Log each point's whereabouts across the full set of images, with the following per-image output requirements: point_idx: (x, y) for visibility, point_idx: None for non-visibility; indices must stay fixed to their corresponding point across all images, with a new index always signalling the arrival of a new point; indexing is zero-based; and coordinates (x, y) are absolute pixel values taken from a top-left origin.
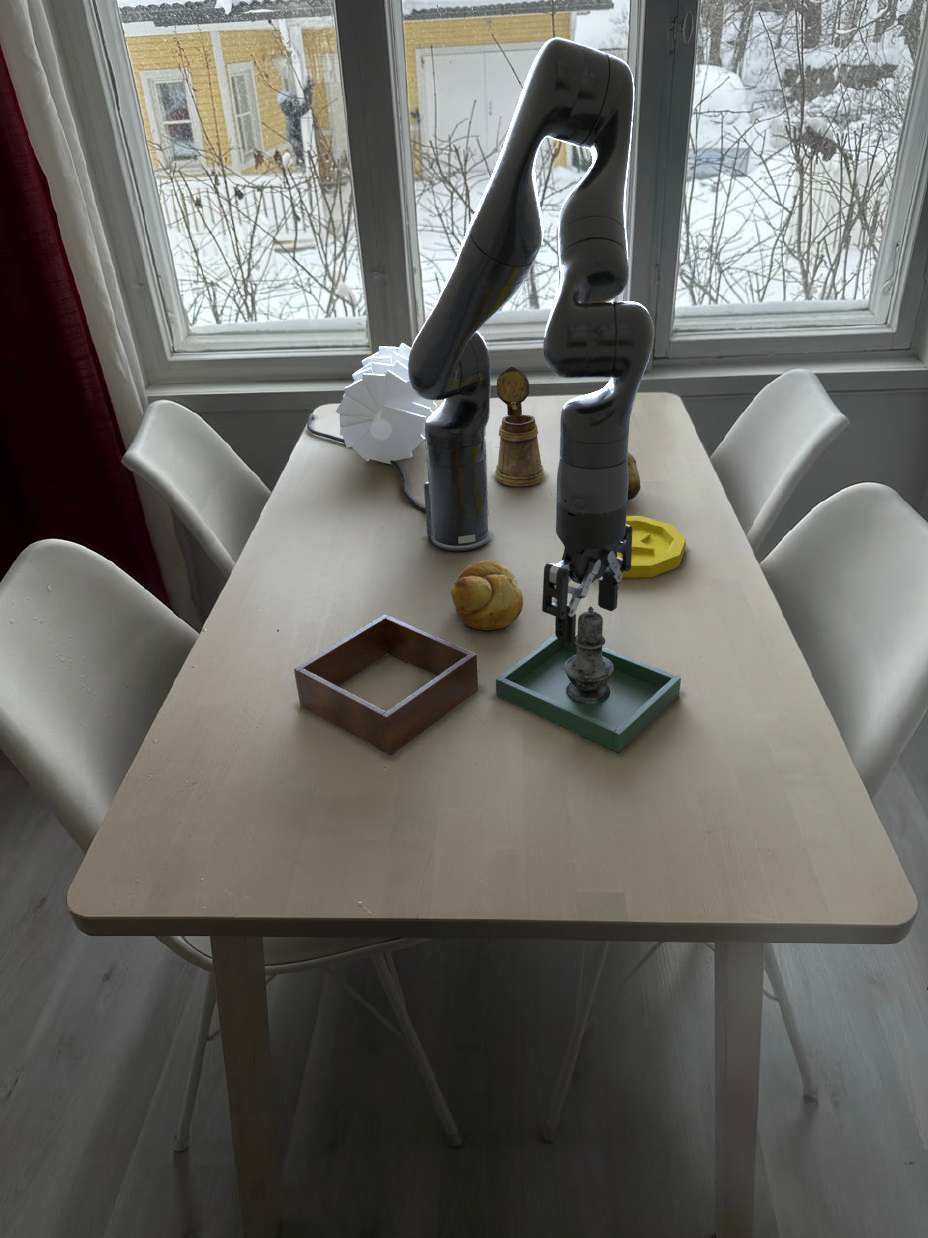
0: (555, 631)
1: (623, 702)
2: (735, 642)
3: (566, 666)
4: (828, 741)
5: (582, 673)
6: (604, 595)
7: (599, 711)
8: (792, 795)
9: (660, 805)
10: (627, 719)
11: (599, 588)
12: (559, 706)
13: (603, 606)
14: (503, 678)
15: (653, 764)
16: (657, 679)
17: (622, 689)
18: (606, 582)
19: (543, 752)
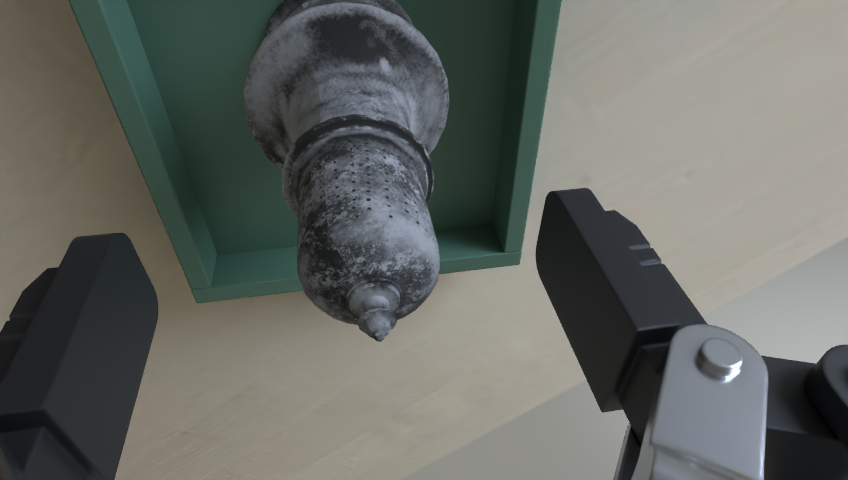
0: (15, 308)
1: None
2: (780, 197)
3: (280, 40)
4: (511, 415)
5: (281, 136)
6: (577, 276)
7: None
8: (358, 443)
9: (160, 377)
10: None
11: (601, 277)
12: (124, 119)
13: (547, 222)
14: None
15: (243, 316)
16: (501, 204)
17: None
18: (618, 369)
19: (4, 134)
